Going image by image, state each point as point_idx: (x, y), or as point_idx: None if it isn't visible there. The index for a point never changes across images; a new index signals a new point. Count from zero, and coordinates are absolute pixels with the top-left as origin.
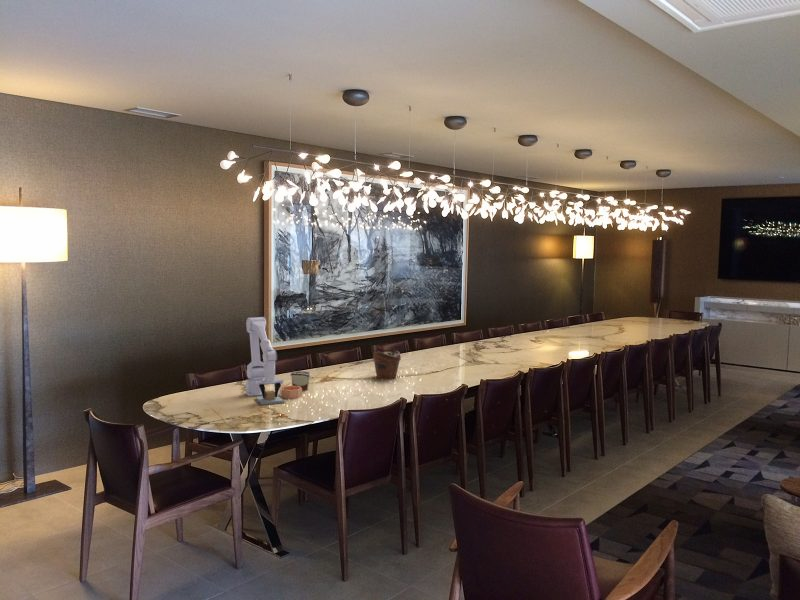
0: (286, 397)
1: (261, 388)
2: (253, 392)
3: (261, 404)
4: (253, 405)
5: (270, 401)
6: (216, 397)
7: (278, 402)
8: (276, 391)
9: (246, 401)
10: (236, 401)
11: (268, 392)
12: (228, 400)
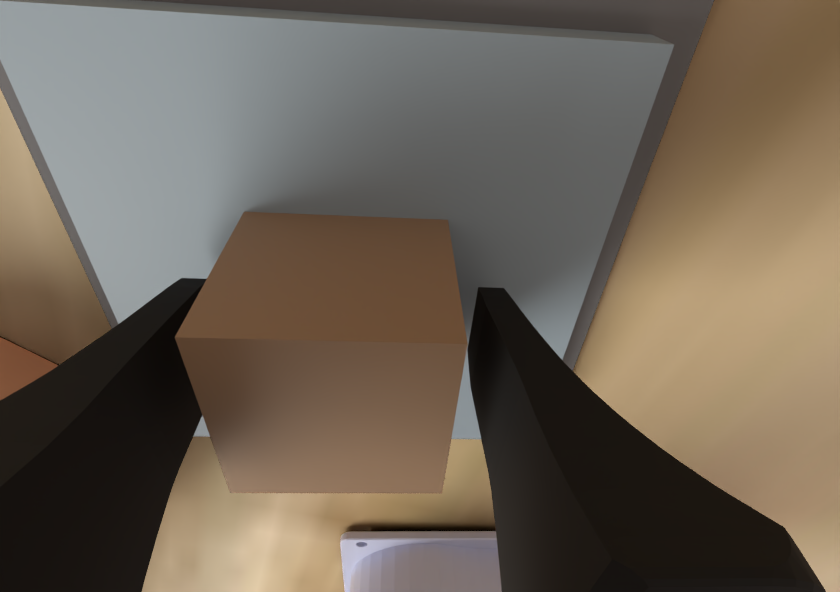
0: (12, 357)
1: (738, 505)
2: (477, 575)
3: (666, 3)
4: (815, 72)
5: (401, 38)
6: (816, 559)
7: (167, 5)
8: (113, 371)
9: (697, 377)
10: (802, 413)
11: (397, 366)
12: (832, 468)
